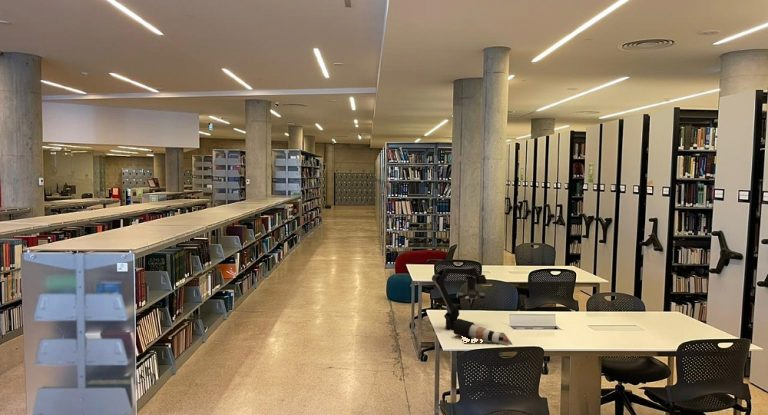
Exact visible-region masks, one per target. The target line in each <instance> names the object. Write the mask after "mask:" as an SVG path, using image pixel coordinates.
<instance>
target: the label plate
mask: <svg viewBox="0 0 768 415" xmlns="http://www.w3.org/2000/svg"><path fill="white" fill-rule="evenodd" d="M497 333H500V334H501V337H503V338H506V339H508V343H507V342H504V341H500V342H499V343H495V342H491V341H487V340H483V342H482V343H480V342H481V341H480V339H479V338H476V339H478V341H477V342H475V343H471V339H474V338H475V337H471V338H468V339H470V341H469V342H467V343H464V344H463V345H510V346H511V345H513V343H512V341H511V340H510V338H509V337H508V336H507V334H506V333H505V332H500V331H499V332H497ZM464 342H466V341H464ZM473 342H474V341H473ZM468 343H469V344H468Z"/></svg>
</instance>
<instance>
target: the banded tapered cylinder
mask: <svg viewBox="0 0 768 415" xmlns="http://www.w3.org/2000/svg"><path fill="white" fill-rule="evenodd" d="M452 331H453V334H454V335H456V336H459V337H460V336H463V337H466V338H471V337H475V338H479V339H482V340H487V341H491V342H495V343H499V342H500V341H504V342H507V343H508V339H509V338H508V339H506V338H503V337H501V334H500V333H501V332H500V333H497V332H496V331H493V330H491V329H487V328H484V327H481V326H478V325H475V323H474V322H472V321H468V320H465V319H461V318H457V320H456V321H455V324H454V328H453V330H452Z"/></svg>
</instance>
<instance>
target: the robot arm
mask: <svg viewBox="0 0 768 415" xmlns="http://www.w3.org/2000/svg"><path fill="white" fill-rule="evenodd" d="M449 274H454V275H457V274H458V275H466V276H464V277H463V279H465V280H466V293H463V292H457V293H456V298H457V299H463V298H464V299H465V300H467V303H468V306H469V308H470V309H472V307H473V306H474V302H475V301H476V300H477V298H480V299H486V294H485V293H484V292H480V291H479V290H476V286H482V285H483V286H484V285H486V284H487V278H486V275H485V274H479V273H478V270H477V268H476V267H473V266H464V267H447V266H444V267H443V268H442V269H440V270H438V271H437V272H436V273H434V274H433V275H432V277H431V281H432V282H433V284H434V285H435V287H436V288H438V291H439V293H440V295H441V297H442V299H443V302H444V303H445V307H446V313H445V314H444V315H443V317H444V319H445V327H444V328H445V330H446V331H447V330H449V331H451V330H452V331H453V328H454V324H455V321H456V320H457V319H459V318H458V317H459V316H460V310H459V307H458V306H457V304H455V303H453V302H452V299H451V296H450V294H449V293H448V291H447V288H446V284H445V283H446V282H445V279H447V277H448V275H449Z"/></svg>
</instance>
